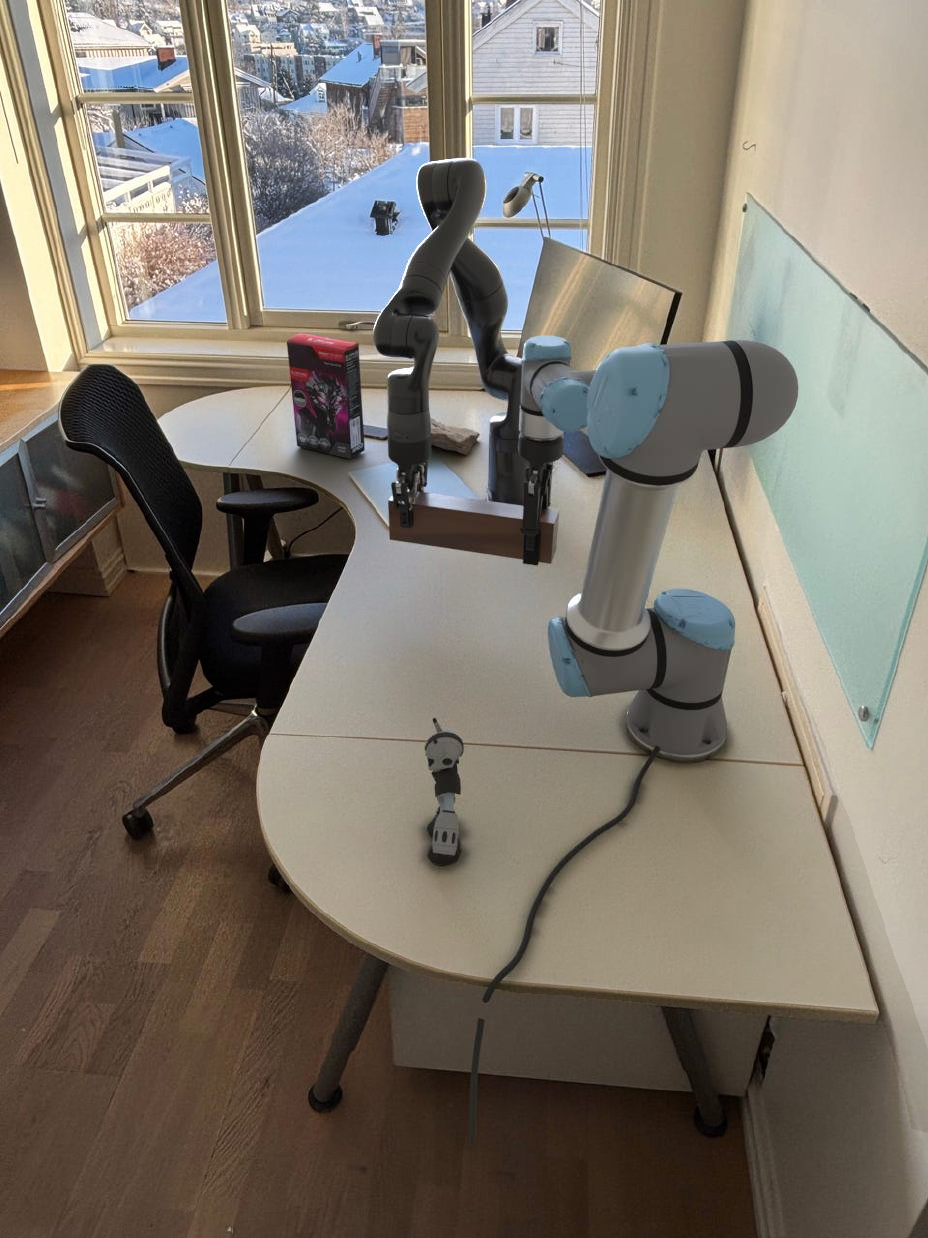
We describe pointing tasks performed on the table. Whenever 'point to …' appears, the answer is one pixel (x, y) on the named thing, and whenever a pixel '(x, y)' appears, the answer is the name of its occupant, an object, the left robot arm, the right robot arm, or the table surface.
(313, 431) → the graphics card box
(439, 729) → the robot
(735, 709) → the table surface
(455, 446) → the stone
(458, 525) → the beam
